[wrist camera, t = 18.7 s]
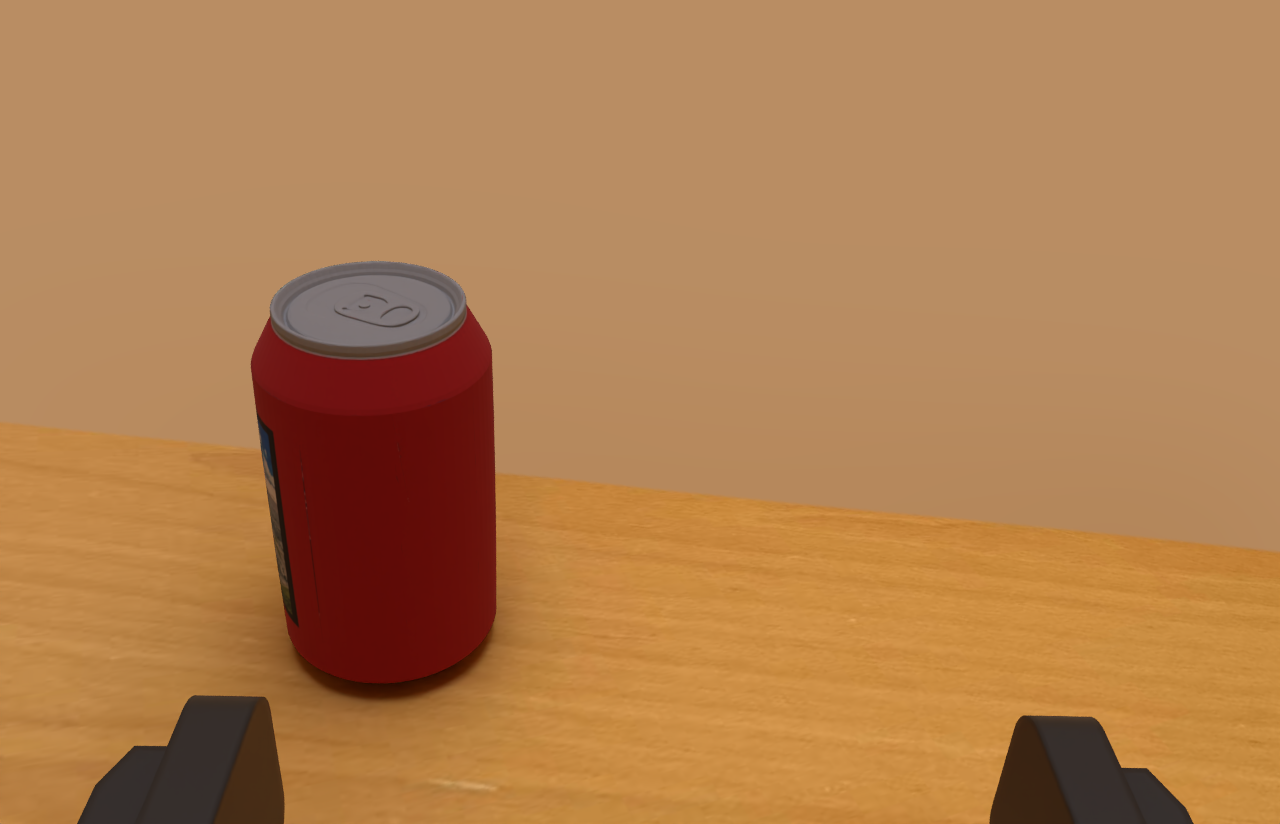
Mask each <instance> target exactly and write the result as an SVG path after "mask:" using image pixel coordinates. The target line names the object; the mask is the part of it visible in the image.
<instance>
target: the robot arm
mask: <svg viewBox="0 0 1280 824" xmlns="http://www.w3.org/2000/svg"><path fill="white" fill-rule="evenodd" d="M77 824H284V792H283V785H282V779H281V773H280V767H279V760H278V754H277V748H276V742H275V736H274V729H273V723H272V717H271V711H270V706H269V703H268V701H267V699H266V698H265V697H244V696H197V695H194V696H192V697H191V698H190V699H189V700H188V701H187V703H186V704H185V706H184V708H183V710H182V712H181V715H180V717H179V720H178V722H177V724H176V727H175V729H174V731H173V734H172V736H171V739H170V741H169V743H168V746H134V747H133V748H132V749H131V750H130V751H129V752H128V753H127V754H126V755H125V756H124V757H123V758H122V759H121V760H120V761H119V762H118V763H117V764H116V765H115V766H114V767H113V768H112V769H111V770H110V771H109V772H108V773H107V774H106V775H105V776H104V777H103V778H102V779H101V780H100V781H99V782H98V783H97V784H96V785H95V787H94V789H93V791H92V793H91V796H90V798H89V800H88V802H87V804H86V806H85V808H84V810H83V813H82V815H81V817H80V819H79V821H78V823H77ZM990 824H1193V822H1192V820H1191V818H1190V816H1189V814H1188V812H1187V810H1186V808H1185V807H1184V806H1183V805H1182V804H1181V803H1180V802H1179V801H1178V800H1177V799H1176V798H1175V797H1174V796H1173V795H1172V794H1171V793H1170V791H1169V790H1168V789H1167V788H1166V787H1165V786H1164V785H1163V784H1162V783H1161V782H1160V781H1159V780H1158V779H1157V778H1156V777H1155V776H1154V775H1153V774H1152V773H1151V772H1150V771H1149V770H1148V769H1147V768H1121V766H1120V764H1119V762H1118V760H1117V757H1116V755H1115V753H1114V751H1113V749H1112V747H1111V744H1110V742H1109V740H1108V738H1107V736H1106V733H1105V731H1104V729H1103V728H1102V726H1101V725H1100V723H1099V722H1098V721H1097V720H1096V719H1095V718H1093V717H1070V716H1022V717H1020V719H1019V720H1018V721H1017V723H1016V726H1015V729H1014V732H1013V735H1012V739H1011V742H1010V746H1009V749H1008V753H1007V756H1006V760H1005V763H1004V767H1003V770H1002V774H1001V777H1000V780H999V784H998V787H997V791H996V794H995V798H994V801H993V805H992V809H991V814H990Z"/></svg>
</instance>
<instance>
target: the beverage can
mask: <svg viewBox="0 0 1280 824" xmlns="http://www.w3.org/2000/svg"><path fill="white" fill-rule="evenodd" d="M251 372H252V380H253V388H254V396H255V404H256V412H257V419H258V428H259V435H260V443H261V451H262V459H263V466H264V473H265V480H266V487H267V494H268V501H269V508H270V516H271V523H272V530H273V537H274V544H275V551H276V558H277V565H278V571H279V577H280V584H281V590H282V597H283V603H284V609H285V616H286V622H287V628H288V633H289V636H290V639H291V641H292V643H293V645H294V646H295V648H296V649H297V651H298V652H299V653H300V654H301V656H302V657H303V658H305V659H306V660H307V661H308V662H309V663H311V664H312V665H313V666H315V667H317V668H318V669H320V670H322V671H324V672H326V673H328V674H331V675H333V676H336V677H339V678H343V679H346V680H351V681H356V682H363V683H396V682H404V681H410V680H414V679H419V678H422V677H426V676H429V675H432V674H435V673H437V672H440V671H442V670H444V669H446V668H448V667H450V666H452V665H454V664H456V663H457V662H459V661H461V660H462V659H463V658H465V657H466V656H468V655H469V654H470V653H471V652H472V651H474V650H475V649H476V648H477V647H478V646H479V645H480V643H481V642H482V641H483V640H484V639H485V637H486V636H487V634H488V632H489V631H490V629H491V626H492V624H493V621H494V618H495V614H496V502H495V450H494V448H495V447H494V410H493V409H494V406H493V376H492V350H491V345H490V343H489V340H488V338H487V336H486V334H485V333H484V331H483V329H482V328H481V326H480V325H479V323H478V322H477V320H476V319H475V317H474V315H473V314H472V312H471V311H470V309H469V308H468V306H467V305H466V297H465V293H464V291H463V290H462V288H461V287H460V285H459V284H457V283H456V282H455V281H454V280H453V279H451V278H450V277H448V276H446V275H444V274H443V273H440V272H438V271H435V270H433V269H429V268H426V267H422V266H418V265H413V264H407V263H400V262H386V261H369V262H354V263H346V264H339V265H334V266H329V267H325V268H321V269H318V270H315V271H312V272H309V273H307V274H304V275H302V276H299V277H297V278H295V279H294V280H292V281H290V282H288V283H287V284H286V285H284V286H283V287H282V288H280V290H279V291H278V292H277V293H276V294H275V295H274V297H273V299H272V301H271V304H270V318H269V319H268V321H267V324H266V325H265V328H264V330H263V332H262V334H261V336H260V338H259V340H258V343H257V345H256V347H255V349H254V352H253V355H252V360H251Z"/></svg>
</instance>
